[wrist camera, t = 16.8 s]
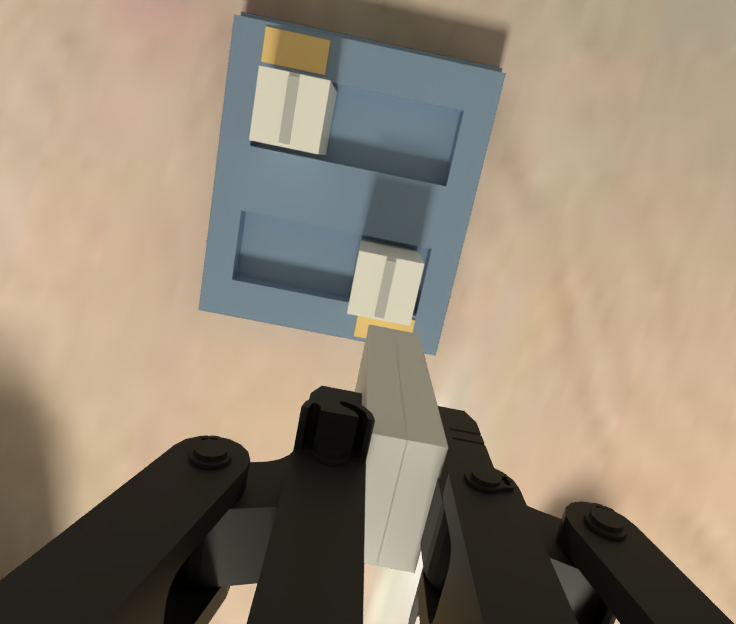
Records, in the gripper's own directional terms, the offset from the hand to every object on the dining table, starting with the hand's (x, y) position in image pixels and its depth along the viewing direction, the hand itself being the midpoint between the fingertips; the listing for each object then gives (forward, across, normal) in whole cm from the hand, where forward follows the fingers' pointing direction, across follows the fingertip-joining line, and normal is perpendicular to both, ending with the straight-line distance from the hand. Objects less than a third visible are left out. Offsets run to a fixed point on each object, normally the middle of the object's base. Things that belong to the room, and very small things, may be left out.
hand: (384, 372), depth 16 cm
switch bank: (+24, -3, +3) cm, 25 cm away
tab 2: (+23, +1, -1) cm, 23 cm away
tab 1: (+23, -7, +7) cm, 25 cm away
